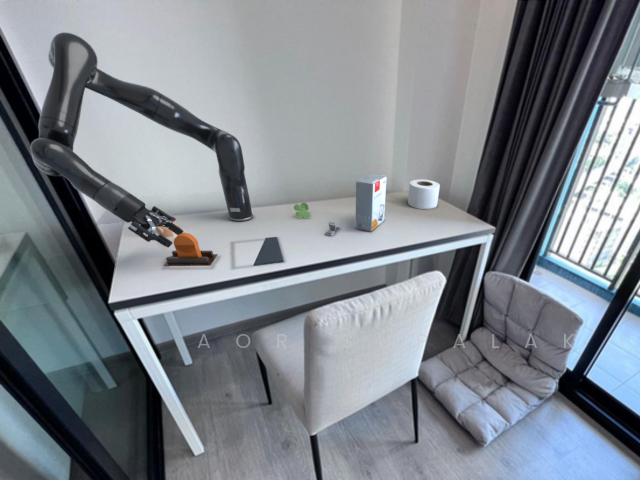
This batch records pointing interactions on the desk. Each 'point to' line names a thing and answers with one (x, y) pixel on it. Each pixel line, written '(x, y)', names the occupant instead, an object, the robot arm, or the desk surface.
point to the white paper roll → (423, 194)
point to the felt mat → (269, 252)
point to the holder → (191, 259)
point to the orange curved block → (187, 246)
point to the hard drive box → (370, 201)
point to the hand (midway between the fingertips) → (176, 239)
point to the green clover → (302, 210)
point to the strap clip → (332, 229)
